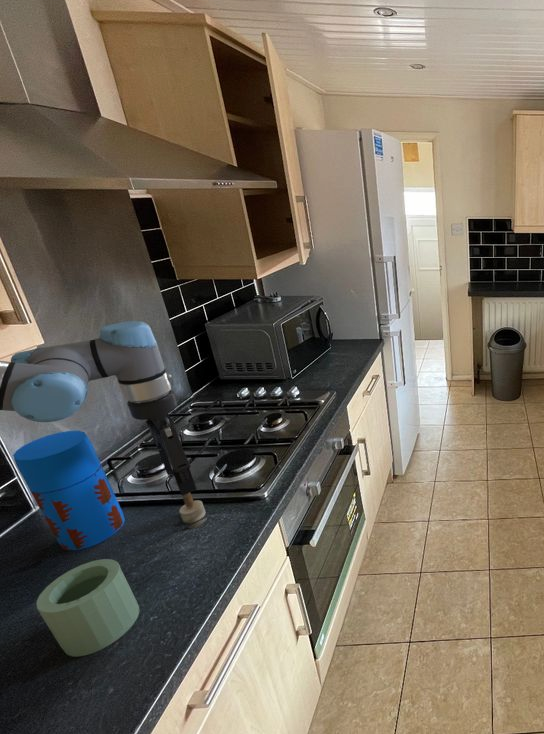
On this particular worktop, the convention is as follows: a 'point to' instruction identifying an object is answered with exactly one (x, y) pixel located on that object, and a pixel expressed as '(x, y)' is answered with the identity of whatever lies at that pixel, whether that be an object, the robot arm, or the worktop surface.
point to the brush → (192, 510)
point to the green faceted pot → (89, 607)
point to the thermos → (70, 488)
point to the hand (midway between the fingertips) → (181, 481)
